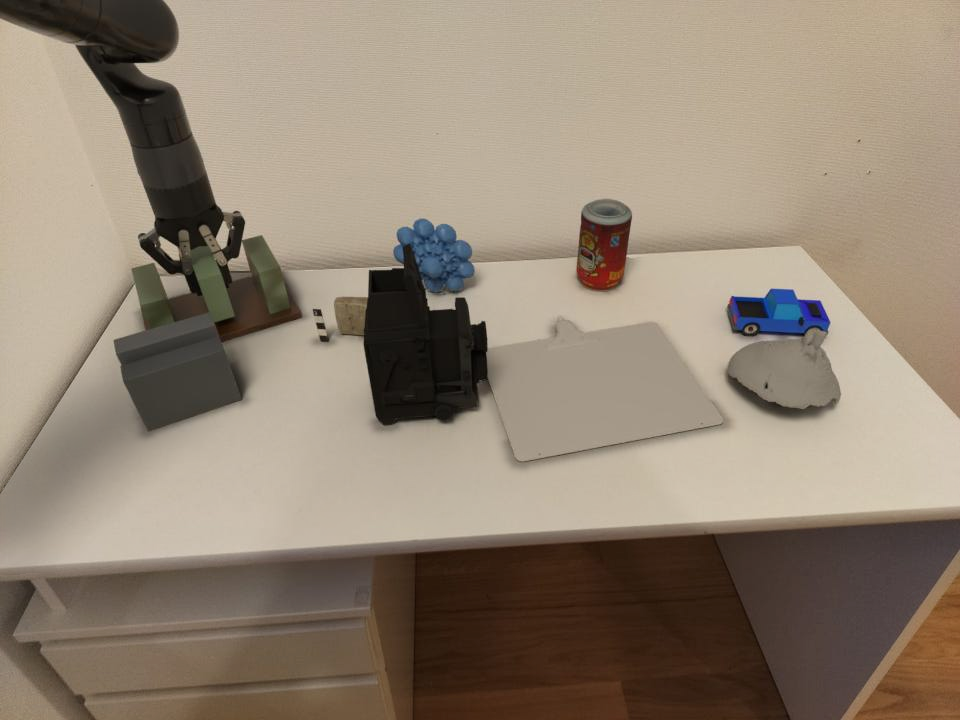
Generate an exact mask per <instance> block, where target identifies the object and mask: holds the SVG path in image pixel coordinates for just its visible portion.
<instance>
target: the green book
mask: <svg viewBox="0 0 960 720" xmlns="http://www.w3.org/2000/svg"><path fill="white" fill-rule="evenodd" d="M191 258H192V259H191V261H192V267H193V270H194V272H195V275H196V278H197V280H198V283H199V286H200V289H201V292H202V296H203V298H204V301H205V303H206V306H207V309H208V311H209V312H210V313H211V315H212V318H213V321H214V322H218V321H221V320H224V319H228V318H231V317H235V314H234V311H233V308H232V305H231V302H230V299H229V296H228V293H227V289H226V286H225V283H224V280H223V277H222V274H221V272H220V269H219V267H218V265H217V263H216V259H215V257H214V255H213V254H212V252H211V250H210V249H209V247H208V246H199V247H197V248H195V249H193V250H191Z"/></svg>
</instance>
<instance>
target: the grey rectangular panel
mask: <svg viewBox="0 0 960 720" xmlns="http://www.w3.org/2000/svg"><path fill="white" fill-rule="evenodd" d="M554 329H555V331H556V336H553V337H548V338H540V339H535V340H529V341H528V340H527V341H523V342H517V343H516V342H515V343H511V344H504V345H498V346H497V345H496V346H491V347H488V350H487V352H486V355H487V369H488V375H487V381H488V383H489V386H490V389H491V391H492V394H493V397H494V400H495V403H496V406H497V409H498V411H499V414H500V417H501V420H502V423H503V426H504V429H505V433H506V436H507V437H508V440H509V444H510V446H511V449H512V452H513V455H514V459H516V460H517V461H518V462H528V461H534V460H539V459H545V458H550V457H554V456H555V457H556V456H559V455H566V454H570V453H577V452H581V451H582V452H583V451H586V450H593V449H597V448H602V447H609V446H614V445H618V444H623V443H629V442H634V441H639V440H644V439H651V438H656V437H661V436H665V435H671V434H672V435H673V434H677V433H682V432H688V431H693V430H698V429H704V428H708V427H715V426H720V425H722V424H723V423H724V418H723V416H722V415H721V413H720V412H719V411H718V409H717V408H716V407H715V405H714V404H713V402H712V400H711V399H710V397H709V396H708V395H707V393H706V392H705V390H704V389H703V387H702V386H701V384H700V383H699V382H698V380H697V379H696V377H695V376H694V374H693V373H692V371H691V370H690V368H689V367H688V366H687V364H686V363H685V361H684V360H683V358H682V357H681V356H680V354H679V353H678V351H677V350H676V348H675V347H674V345H673V344H672V342H671V341H670V340H669V338H668V337H667V335H666V334H665V333H664V330H663V329H662V328H661V326H660V325H659V324H658V322H655V321H647V322H641V323H635V324H629V325H623V326H622V325H621V326H617V327H610V328H604V329H603V328H602V329H598V330H597V329H596V330H590V331H585V332H584V331H581V330H580V329H578V328H577V327H576V326H575V325H574V323H573V322H572V321H571V320H569V319H564V317H563V315H559V316H558V317H557V319H556V323H555V324H554Z"/></svg>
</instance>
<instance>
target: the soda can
mask: <svg viewBox="0 0 960 720" xmlns="http://www.w3.org/2000/svg"><path fill="white" fill-rule="evenodd" d="M632 220H633V212H632V210H631V208H630V207H629V206H628V205H626V204H624V203H623V202H621V201H619V200H616V199H612V198H600V199H595V200H592V201H591V202H588V203H586V204H585V205H584V206H582V209H581V211H580V226H579V234H578V235H579V236H578V246H577V247H578V248H577V259H576V274H577V276H578V278H579V281H580V284H581V285H582V286H583V287H584V288H585V289H587V290H590V291H593V292H598V293H599V292H608V291H612V290H613V289H615V288H616V287H617V286H618V284H619V282H620V281H621V280H622V279H623V277H624V274H625V269H626V262H627V256H628V248H629V242H630V241H629V240H630V233H631V226H632Z"/></svg>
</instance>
